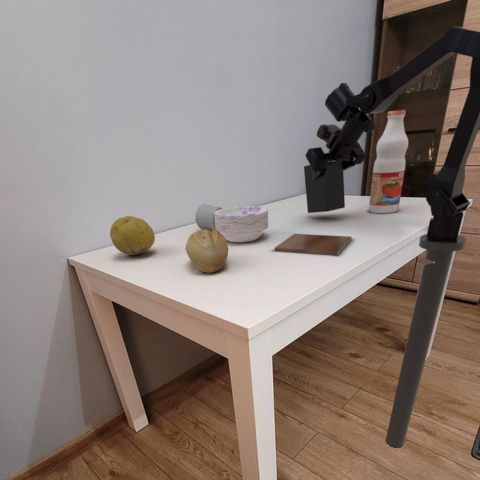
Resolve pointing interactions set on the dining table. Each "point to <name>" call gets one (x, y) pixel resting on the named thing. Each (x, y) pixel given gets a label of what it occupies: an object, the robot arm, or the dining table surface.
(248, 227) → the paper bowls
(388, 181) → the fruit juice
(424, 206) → the dining table surface
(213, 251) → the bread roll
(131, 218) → the fruit
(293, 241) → the board
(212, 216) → the ceramic mug
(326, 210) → the toaster
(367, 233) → the dining table surface
